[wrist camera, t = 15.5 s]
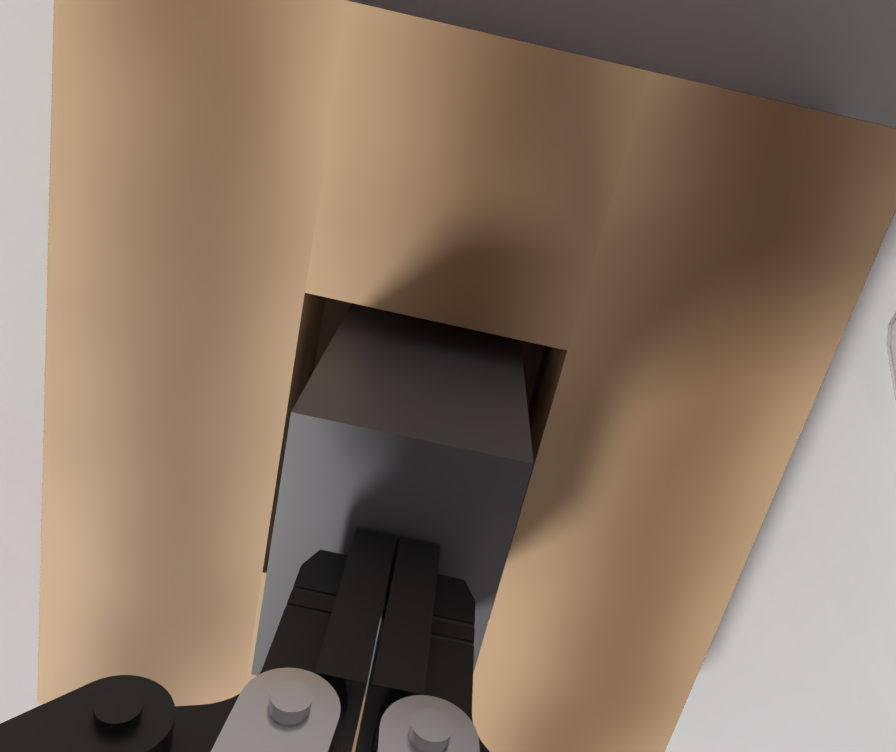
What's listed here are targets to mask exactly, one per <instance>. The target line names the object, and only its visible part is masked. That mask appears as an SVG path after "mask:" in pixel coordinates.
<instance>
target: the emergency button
mask: <svg viewBox="0 0 896 752" xmlns="http://www.w3.org/2000/svg"><path fill="white" fill-rule="evenodd" d="M887 352H888V358H889V364H890V370H891V376H892V383H893V389H894V395H895V401H896V313H895V315H894V316H893V318H892V319H891V321H890V322H889V324H888V335H887Z"/></svg>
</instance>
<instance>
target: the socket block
mask: <svg viewBox="0 0 896 752" xmlns="http://www.w3.org/2000/svg"><path fill="white" fill-rule="evenodd" d="M895 211H896V128H892V127H888V126H884V125H879V124H875V123H871V122H867V121H862V120H858V119H854V118H849V117H845V116H841V115H837V114H832V113H828V112H824V111H819V110H815V109H811V108H806V107H802V106H798V105H794V104H789V103H785V102H781V101H776V100H772V99H768V98H764V97H759V96H755V95H751V94H746V93H742V92H738V91H734V90H729V89H725V88H721V87H716V86H712V85H708V84H703V83H699V82H695V81H691V80H686V79H682V78H678V77H673V76H669V75H665V74H661V73H656V72H652V71H648V70H643V69H639V68H635V67H631V66H626V65H622V64H618V63H613V62H609V61H605V60H601V59H596V58H592V57H588V56H583V55H579V54H575V53H570V52H566V51H562V50H558V49H553V48H549V47H545V46H540V45H536V44H532V43H528V42H523V41H519V40H515V39H510V38H506V37H502V36H498V35H493V34H489V33H485V32H480V31H476V30H472V29H467V28H463V27H459V26H455V25H450V24H446V23H442V22H437V21H433V20H429V19H425V18H420V17H416V16H412V15H407V14H403V13H399V12H395V11H390V10H386V9H382V8H377V7H373V6H369V5H364V4H360V3H356V2H352V1H347V0H54V21H53V63H52V105H51V147H50V189H49V231H48V273H47V315H46V357H45V399H44V441H43V483H42V524H41V566H40V608H39V650H38V692H37V703H39V704H45V703H47V702H49V701H52V700H54V699H56V698H58V697H60V696H62V695H65V694H67V693H69V692H71V691H73V690H76V689H78V688H80V687H82V686H84V685H86V684H89V683H91V682H93V681H96V680H99V679H102V678H106V677H110V676H117V675H134V676H141V677H145V678H148V679H150V680H153V681H155V682H157V683H158V684H160V685H162V686H163V687H164V688H165V689H166V690H167V691H168V692H169V694H170V695H171V697H172V699H173V701H174V704H175V706H188V705H203V704H211V703H216V702H220V701H224V700H227V699H229V698H232V697H234V696H236V695H238V694H240V693H241V691H242V690H243V688H244V686H245V685H246V684H247V683H248V682H249V681H250V680H252V679H253V678H254V677H256V676H257V675H252V674H251V672H252V666H253V659H254V653H255V646H256V639H257V633H258V626H259V620H260V613H261V606H262V600H263V593H264V587H265V580H266V574H267V567H268V560H269V554H270V547H271V541H272V534H273V527H274V521H275V514H276V508H277V501H278V495H279V488H280V481H281V475H282V468H283V462H284V455H285V448H286V442H287V435H288V429H289V422H290V416H291V411H292V409H293V408H294V406H295V404H296V402H297V401H298V399H299V397H300V395H301V393H302V392H303V390H304V388H305V386H306V384H307V383H308V381H309V379H310V377H311V376H312V374H313V372H314V370H315V368H316V367H317V365H318V363H319V361H320V359H321V358H322V356H323V354H324V352H325V351H326V349H327V347H328V345H329V343H330V342H331V340H332V338H333V336H334V334H335V333H336V331H337V329H338V327H339V326H340V324H341V322H342V320H343V318H344V317H345V315H346V313H347V311H348V309H349V308H350V306H351V304H352V303H354V304H358V305H363V306H367V307H372V308H376V309H381V310H385V311H390V312H395V313H399V314H404V315H408V316H413V317H417V318H422V319H426V320H431V321H435V322H440V323H444V324H449V325H454V326H458V327H463V328H467V329H472V330H476V331H481V332H485V333H490V334H494V335H499V336H504V337H508V338H513V339H517V340H520V341H521V350H522V359H523V369H524V378H525V387H526V397H527V406H528V415H529V425H530V434H531V443H532V453H533V462H534V465H533V468H532V471H531V475H530V478H529V482H528V485H527V489H526V492H525V496H524V499H523V503H522V506H521V510H520V513H519V517H518V520H517V524H516V527H515V531H514V534H513V538H512V541H511V545H510V548H509V551H508V555H507V558H506V562H505V565H504V569H503V572H502V576H501V579H500V583H499V586H498V590H497V593H496V597H495V600H494V604H493V607H492V611H491V614H490V618H489V621H488V624H487V628H486V631H485V635H484V638H483V642H482V645H481V649H480V652H479V656H478V659H477V663H476V666H475V670H474V673H473V694H472V720H473V724H474V726H475V728H476V730H477V733H478V737H479V738H480V740H481V741H482V743H483V744H484V745H485V747H486V748H487V749H488V750H489V751H490V752H665V750H666V747H667V745H668V743H669V740H670V738H671V736H672V733H673V731H674V729H675V726H676V724H677V722H678V719H679V717H680V715H681V712H682V710H683V708H684V705H685V703H686V701H687V698H688V696H689V694H690V691H691V689H692V687H693V684H694V682H695V680H696V677H697V675H698V673H699V670H700V668H701V665H702V663H703V661H704V658H705V656H706V654H707V651H708V649H709V647H710V644H711V642H712V640H713V637H714V635H715V633H716V630H717V628H718V626H719V623H720V621H721V619H722V616H723V614H724V612H725V609H726V607H727V605H728V602H729V600H730V598H731V595H732V593H733V591H734V588H735V586H736V583H737V581H738V579H739V576H740V574H741V572H742V569H743V567H744V565H745V562H746V560H747V558H748V555H749V553H750V551H751V548H752V546H753V544H754V541H755V539H756V537H757V534H758V532H759V530H760V527H761V525H762V523H763V520H764V518H765V516H766V513H767V511H768V509H769V506H770V504H771V502H772V499H773V497H774V494H775V492H776V490H777V487H778V485H779V483H780V480H781V478H782V476H783V473H784V471H785V469H786V466H787V464H788V462H789V459H790V457H791V455H792V452H793V450H794V448H795V445H796V443H797V441H798V438H799V436H800V434H801V431H802V429H803V427H804V424H805V422H806V420H807V417H808V415H809V412H810V410H811V408H812V405H813V403H814V401H815V398H816V396H817V394H818V391H819V389H820V387H821V384H822V382H823V380H824V377H825V375H826V373H827V370H828V368H829V366H830V363H831V361H832V359H833V356H834V354H835V352H836V349H837V347H838V345H839V342H840V340H841V338H842V335H843V333H844V330H845V328H846V326H847V323H848V321H849V319H850V316H851V314H852V312H853V309H854V307H855V305H856V302H857V300H858V298H859V295H860V293H861V291H862V288H863V286H864V284H865V281H866V279H867V277H868V274H869V272H870V270H871V267H872V265H873V263H874V260H875V258H876V256H877V253H878V251H879V249H880V246H881V244H882V241H883V239H884V237H885V234H886V232H887V230H888V227H889V225H890V223H891V220H892V218H893V216H894V213H895ZM365 698H366V697H364V699H363V703H362V708H361V712H360V717H359V721H358V725H357V730H356V734H355V739H354V743H353V748H352V752H355V748H356V743H357V738H358V733H359V728H360V723H361V718H362V713H363V708H364V703H365Z"/></svg>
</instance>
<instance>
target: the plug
mask: <svg viewBox="0 0 896 752" xmlns="http://www.w3.org/2000/svg"><path fill="white" fill-rule="evenodd" d="M533 465H534V462H533V453H532V443H531V434H530V425H529V415H528V406H527V397H526V387H525V378H524V369H523V359H522V350H521V341H520V340H517V339H513V338H508V337H504V336H499V335H494V334H490V333H485V332H481V331H476V330H472V329H467V328H463V327H458V326H454V325H449V324H444V323H440V322H435V321H431V320H426V319H422V318H417V317H413V316H408V315H404V314H399V313H395V312H390V311H385V310H381V309H376V308H372V307H367V306H363V305H358V304H354V303H352V304H351V306H350V308H349V309H348V311H347V313H346V315H345V317H344V318H343V320H342V322H341V324H340V326H339V327H338V329H337V331H336V333H335V334H334V336H333V338H332V340H331V342H330V343H329V345H328V347H327V349H326V351H325V352H324V354H323V356H322V358H321V359H320V361H319V363H318V365H317V367H316V368H315V370H314V372H313V374H312V376H311V377H310V379H309V381H308V383H307V384H306V386H305V388H304V390H303V392H302V393H301V395H300V397H299V399H298V401H297V402H296V404H295V406H294V408H293V409H292V411H291V416H290V422H289V429H288V435H287V442H286V448H285V455H284V462H283V468H282V475H281V481H280V488H279V495H278V501H277V508H276V514H275V521H274V527H273V534H272V541H271V547H270V554H269V560H268V567H267V574H266V580H265V587H264V593H263V600H262V606H261V613H260V620H259V626H258V633H257V639H256V646H255V653H254V659H253V666H252V672H251V674H252V675H259V674H260V672H261V670H262V668H263V665H264V662H265V660H266V657H267V654H268V652H269V649H270V646H271V644H272V641H273V639H274V636H275V633H276V631H277V628H278V625H279V623H280V620H281V617H282V615H283V612H284V609H285V607H286V605H287V602H288V599H289V596H290V594H291V591H292V590H293V586H294V583H295V580H296V578H297V575H298V573H299V570H300V567H301V565H302V564H303V563H304V562H306V561H307V560H308V559H309V558H310V557H312V556H313V555H314V554H315V553H316V552H318V551H319V550H320V549H321V550H325V551H330V552H335V553H339V554H344V555H349V551H350V548H351V544H352V541H353V538H354V534H355V531H356V528H357V527H358V528H363V529H368V530H373V531H377V532H382V533H387V534H391V535H396V536H397V537H396V542H395V547H394V552H393V557H392V562H391V567H390V572H389V577H388V582H387V587H386V592H385V597H384V602H383V607H382V612H381V617H380V621H379V626H378V631H377V636H376V641H375V646H374V651H373V656H372V661H371V666H370V671H369V676H368V681H367V685H366V690H365V694H364V697H366V693H367V688H368V683H369V678H370V673H371V668H372V663H373V658H374V653H375V648H376V643H377V638H378V633H379V629H380V624H381V619H382V615H383V610H384V606H385V601H386V597H387V593H388V588H389V584H390V579H391V575H392V570H393V566H394V562H395V557H396V553H397V548H398V544H399V539H400V536H402V537H406V538H411V539H416V540H420V541H425V542H430V543H434V544H439V545H440V556H439V565H438V574H440V575H444V576H449V577H454V578H459V579H463V580H465V582H466V584H467V586H468V588H469V590H470V592H471V594H472V595H473V597H474V599H475V601H476V603H475V625H474V628H475V634H474V645H473V646H474V664H473V673H474V670H475V666H476V663H477V659H478V656H479V652H480V649H481V645H482V642H483V638H484V635H485V631H486V628H487V624H488V621H489V618H490V614H491V611H492V607H493V604H494V600H495V597H496V593H497V590H498V586H499V583H500V579H501V576H502V572H503V569H504V565H505V562H506V558H507V555H508V551H509V548H510V545H511V541H512V538H513V534H514V531H515V527H516V524H517V520H518V517H519V513H520V510H521V506H522V503H523V499H524V496H525V492H526V489H527V485H528V482H529V478H530V475H531V471H532V468H533Z"/></svg>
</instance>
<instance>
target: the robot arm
mask: <svg viewBox="0 0 896 752" xmlns="http://www.w3.org/2000/svg"><path fill="white" fill-rule="evenodd" d="M396 537H397V536H396V535H391V534H387V533H382V532H377V531H373V530H368V529H363V528H358V527H357V528H356V531H355V534H354V538H353V541H352V544H351V548H350V551H349V555H344V554H339V553H335V552H330V551H325V550H321V549H320V550H319V551H318V552H316V553H315V554H314V555H313V556H312V557H310V558H309V559H308V560H307V561H306V562H304V563H303V564H302V565H301V567H300V570H299V573H298V575H297V578H296V580H295V583H294V586H293V590H292V591H291V594H290V596H289V599H288V602H287V605H286V607H285V609H284V612H283V615H282V617H281V620H280V623H279V625H278V628H277V631H276V633H275V636H274V639H273V641H272V644H271V646H270V649H269V652H268V654H267V657H266V660H265V662H264V665H263V668H262V670H261V672H260V674H259V675H257V676H256V677H254V678H253V679H252V680H250V681H249V682H248V683H247V684H246V685H245V686H244V688H243V690H242V691H241V693H240V694H238V695H236V696H234V697H232V698H229V699H227V700H224V701H220V702H216V703H211V704H203V705H188V706H175V704H174V701H173V699H172V697H171V695H170V694H169V692H168V691H167V690H166V689H165V688H164V687H163V686H162V685H160V684H158V683H157V682H155V681H153V680H150V679H148V678H145V677H141V676H134V675H117V676H110V677H106V678H102V679H99V680H96V681H93V682H91V683H89V684H86V685H84V686H82V687H80V688H78V689H76V690H73V691H71V692H69V693H67V694H65V695H62V696H60V697H58V698H56V699H54V700H52V701H49V702H47V703H45V704H43V705H41V706H38V707H36V708H34V709H32V710H30V711H27V712H25V713H23V714H21V715H19V716H17V717H14V718H12V719H10V720H8V721H6V722H3V723H1V724H0V752H352V748H353V743H354V739H355V734H356V730H357V725H358V721H359V717H360V712H361V708H362V703H363V699H364V694H365V690H366V685H367V681H368V676H369V671H370V666H371V661H372V656H373V651H374V646H375V641H376V636H377V631H378V626H379V621H380V617H381V612H382V607H383V602H384V597H385V592H386V587H387V582H388V577H389V572H390V567H391V562H392V557H393V552H394V547H395V542H396ZM439 556H440V545H439V544H434V543H430V542H425V541H420V540H416V539H411V538H406V537H402V536H400V539H399V544H398V548H397V553H396V557H395V562H394V566H393V570H392V575H391V579H390V584H389V588H388V593H387V597H386V601H385V606H384V610H383V615H382V619H381V624H380V629H379V633H378V638H377V643H376V648H375V653H374V658H373V663H372V668H371V673H370V678H369V683H368V688H367V693H366V698H365V703H364V708H363V713H362V718H361V723H360V728H359V733H358V738H357V743H356V748H355V752H490V751H489V750H488V749H487V748H486V747H485V745H484V744H483V743H482V741H481V740H480V738H479V737H478V733H477V730H476V728H475V726H474V724H473V720H472V694H473V664H474V646H473V645H474V634H475V628H474V625H475V603H476V601H475V599H474V597H473V595H472V594H471V592H470V590H469V588H468V586H467V584H466V582H465V580H463V579H459V578H454V577H449V576H444V575H440V574H438V565H439Z"/></svg>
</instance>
